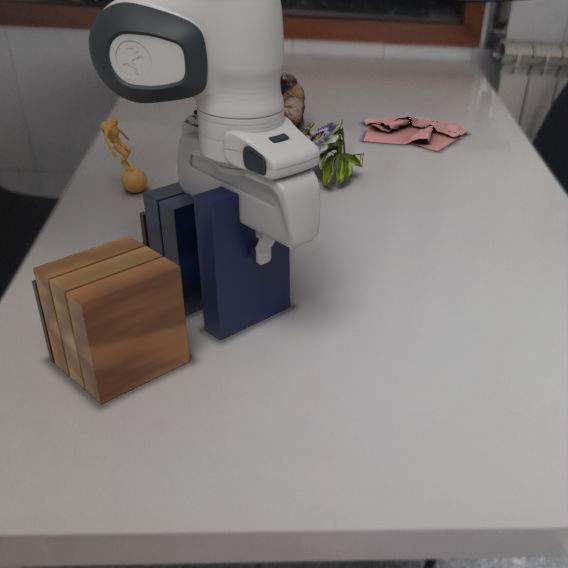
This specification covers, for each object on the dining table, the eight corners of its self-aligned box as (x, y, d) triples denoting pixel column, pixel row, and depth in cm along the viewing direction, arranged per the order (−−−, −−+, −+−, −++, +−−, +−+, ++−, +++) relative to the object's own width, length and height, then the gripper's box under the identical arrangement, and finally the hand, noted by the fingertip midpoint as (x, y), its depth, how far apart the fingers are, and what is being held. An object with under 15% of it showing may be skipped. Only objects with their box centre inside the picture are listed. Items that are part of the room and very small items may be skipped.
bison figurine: (306, 142, 140) (307, 89, 134) (269, 141, 139) (269, 88, 133) (303, 122, 149) (304, 71, 144) (269, 121, 149) (269, 71, 143)
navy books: (149, 292, 91) (135, 188, 83) (218, 265, 98) (212, 166, 90) (184, 316, 87) (173, 209, 79) (254, 286, 94) (250, 184, 86)
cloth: (479, 133, 149) (481, 121, 148) (418, 159, 135) (419, 146, 134) (401, 110, 159) (402, 99, 158) (336, 132, 145) (336, 120, 144)
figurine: (142, 202, 113) (133, 127, 106) (104, 201, 113) (92, 125, 106) (153, 182, 120) (144, 109, 113) (116, 181, 120) (105, 108, 113)
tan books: (50, 360, 79) (27, 263, 72) (137, 323, 86) (123, 231, 79) (100, 404, 73) (81, 304, 66) (190, 361, 80) (180, 266, 73)
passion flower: (307, 202, 129) (294, 136, 129) (366, 191, 130) (353, 125, 130) (305, 189, 118) (291, 117, 118) (370, 177, 119) (356, 105, 118)
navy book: (204, 329, 85) (192, 194, 75) (274, 297, 92) (272, 170, 82) (220, 340, 83) (210, 203, 74) (290, 306, 90) (289, 177, 80)
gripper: (158, 114, 78) (170, 230, 86) (284, 169, 67) (284, 296, 75) (205, 104, 82) (212, 216, 90) (332, 154, 71) (327, 276, 79)
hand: (246, 253), depth 82 cm, fingers open, 4 cm apart
